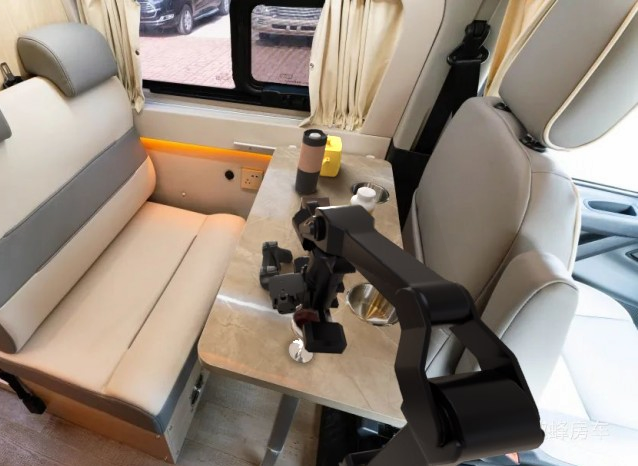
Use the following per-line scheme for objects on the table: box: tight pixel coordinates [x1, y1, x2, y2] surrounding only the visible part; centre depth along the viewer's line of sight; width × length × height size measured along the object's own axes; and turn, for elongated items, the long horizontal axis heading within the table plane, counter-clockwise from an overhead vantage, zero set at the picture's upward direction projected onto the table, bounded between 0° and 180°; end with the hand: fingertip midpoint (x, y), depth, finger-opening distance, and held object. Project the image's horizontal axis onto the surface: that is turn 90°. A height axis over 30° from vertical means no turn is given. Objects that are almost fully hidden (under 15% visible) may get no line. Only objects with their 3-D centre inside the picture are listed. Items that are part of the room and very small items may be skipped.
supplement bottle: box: [348, 186, 377, 216], centre depth 94 cm, size 7×7×13 cm
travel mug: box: [294, 128, 329, 195], centre depth 107 cm, size 8×8×20 cm
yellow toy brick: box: [319, 135, 343, 178], centre depth 120 cm, size 20×12×12 cm, turn 167°
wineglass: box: [288, 304, 327, 364], centre depth 65 cm, size 7×7×12 cm
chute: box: [299, 196, 331, 257], centre depth 91 cm, size 25×8×7 cm, turn 177°
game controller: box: [258, 240, 294, 293], centre depth 82 cm, size 16×7×10 cm, turn 171°
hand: (308, 326), depth 62 cm, fingers open, 9 cm apart
